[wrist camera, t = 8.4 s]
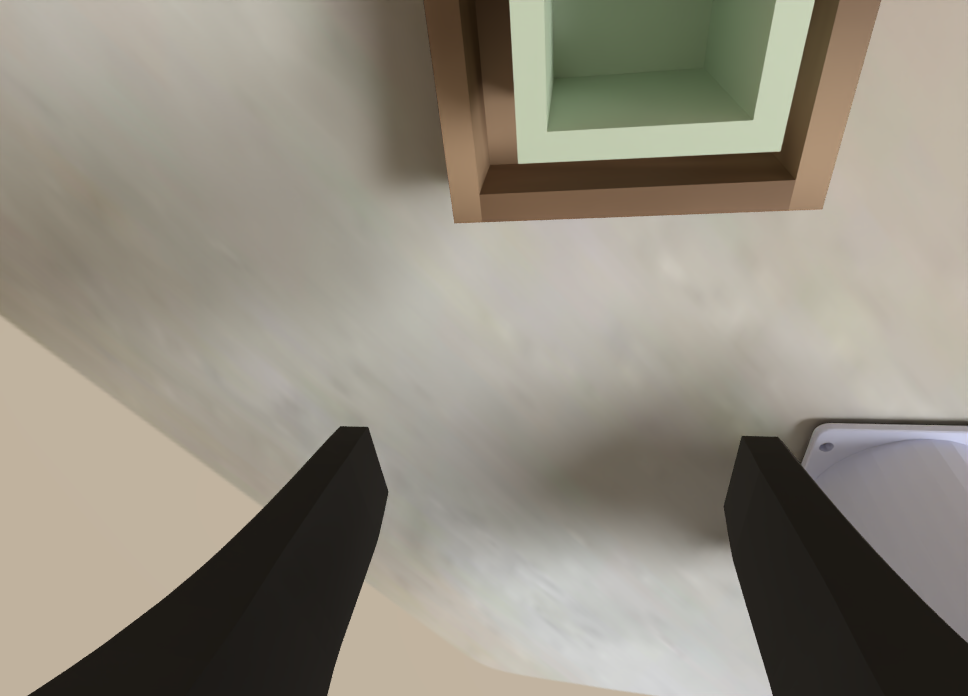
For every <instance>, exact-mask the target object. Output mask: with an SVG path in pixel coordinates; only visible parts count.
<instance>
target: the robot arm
mask: <svg viewBox="0 0 968 696" xmlns="http://www.w3.org/2000/svg"><path fill="white" fill-rule="evenodd" d="M824 443H826V444H824ZM387 496H388V489H387V486H386V483H385V479H384V476H383V473H382V470H381V467H380V463H379V460H378V457H377V454H376V451H375V447H374V444H373V441H372V438H371V434H370V431H369V428H368V427H347V426H340V427H339V428H338V429H337V430H336V431H335V432H334V433H333V434H332V435H331V436H330V438H329V439H328V440H327V441H326V442H325V443H324V444H323V445H322V446H321V447H320V448H319V449H318V450H317V452H316V453H315V454H314V455H313V456H312V457H311V458H310V459H309V460H308V461H307V462H306V464H305V465H304V466H303V467H302V468H301V469H300V470H299V471H298V472H297V473H296V474H295V475H294V477H293V478H292V479H291V480H290V481H289V482H288V483H287V484H286V485H285V486H284V487H283V488H282V489H281V490H280V491H279V492H278V493H277V494H276V495H275V497H274V498H273V499H272V500H271V501H270V502H269V503H268V504H267V505H266V506H265V507H264V508H263V509H262V510H261V511H260V512H259V513H258V514H257V515H256V516H255V517H254V518H253V519H252V520H251V521H250V522H249V523H248V524H247V525H246V526H245V527H244V528H243V529H242V530H241V531H240V532H239V533H237V535H235V537H233V538H232V539H231V540H230V541H229V542H228V543H227V544H226V545H225V546H224V547H223V548H222V549H221V550H220V551H219V552H218V553H216V555H214V556H213V557H212V558H211V559H210V560H209V561H208V562H206V564H204V565H203V566H202V567H201V568H200V569H199V570H197V571H196V572H195V573H194V574H193V575H192V576H191V577H189V578H188V579H187V580H186V581H184V582H183V583H182V584H181V585H180V586H179V587H177V588H176V589H175V590H174V591H173V592H171V593H170V594H169V595H168V596H166V597H165V598H164V599H163V600H161V601H160V602H159V603H158V604H156V605H155V606H154V607H152V608H151V609H150V610H148V611H147V612H146V613H144V614H143V615H142V616H140V617H139V618H138V619H136V620H135V621H134V622H133V623H131V624H130V625H128V626H127V627H126V628H125V629H123V630H122V631H121V632H119V633H118V634H117V635H115V636H114V637H113V638H111V639H110V640H109V641H107V642H106V643H105V644H103V645H102V646H101V647H99V648H98V649H96V650H95V651H94V652H92V653H91V654H89V655H88V656H86V657H85V658H83V659H82V660H80V661H79V662H78V663H76V664H75V665H73V666H72V667H70V668H69V669H67V670H66V671H64V672H63V673H61V674H60V675H58V676H57V677H55V678H54V679H52V680H51V681H49V682H48V683H46V684H45V685H43V686H42V687H40V688H39V689H37V690H36V691H34V692H32V693H31V694H29V695H28V696H327V694H328V690H329V686H330V682H331V678H332V674H333V670H334V667H335V664H336V660H337V657H338V654H339V651H340V647H341V644H342V641H343V638H344V636H345V633H346V630H347V627H348V624H349V621H350V619H351V616H352V613H353V610H354V607H355V604H356V602H357V599H358V596H359V593H360V590H361V587H362V585H363V582H364V579H365V576H366V573H367V570H368V567H369V564H370V562H371V559H372V556H373V553H374V550H375V547H376V544H377V541H378V537H379V533H380V529H381V524H382V520H383V516H384V511H385V506H386V501H387ZM724 511H725V517H726V523H727V529H728V536H729V541H730V547H731V552H732V557H733V562H734V565H735V569H736V572H737V576H738V579H739V582H740V586H741V589H742V593H743V596H744V599H745V603H746V606H747V610H748V613H749V616H750V620H751V623H752V626H753V630H754V633H755V636H756V640H757V643H758V646H759V650H760V653H761V656H762V660H763V663H764V666H765V670H766V673H767V676H768V680H769V683H770V686H771V690H772V694H773V696H968V426H947V425H897V424H848V423H826V424H822V425H820V426H818V427H817V428H815V430H814V431H813V434H812V436H811V439H810V442H809V445H808V447H807V450H806V453H805V456H804V458H803V461H802V464H800V463H799V461H798V460H797V459H796V458H795V457H794V455H793V454H792V453H791V452H790V450H789V449H788V448H787V447H786V445H785V444H784V443H783V442H782V441H781V440H780V439H779V438H778V437H761V436H742V437H741V441H740V445H739V449H738V453H737V457H736V461H735V465H734V469H733V472H732V476H731V480H730V484H729V488H728V492H727V496H726V500H725V504H724Z"/></svg>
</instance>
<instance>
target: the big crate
mask: <svg viewBox="0 0 968 696" xmlns="http://www.w3.org/2000/svg"><path fill="white" fill-rule="evenodd" d="M423 1H424V8H425V15H426V22H427V29H428V37H429V44H430V51H431V58H432V65H433V73H434V80H435V87H436V94H437V101H438V109H439V116H440V123H441V130H442V137H443V145H444V152H445V159H446V166H447V173H448V181H449V188H450V195H451V202H452V209H453V217H454V223H474V222H501V221H527V220H553V219H580V218H606V217H632V216H658V215H685V214H711V213H737V212H764V211H790V210H816V209H822V208H823V205H824V201H825V198H826V194H827V191H828V187H829V183H830V180H831V176H832V173H833V169H834V166H835V162H836V159H837V155H838V151H839V148H840V144H841V141H842V137H843V134H844V130H845V127H846V123H847V120H848V116H849V112H850V109H851V105H852V102H853V98H854V95H855V91H856V88H857V84H858V80H859V77H860V73H861V70H862V66H863V63H864V59H865V56H866V52H867V49H868V45H869V41H870V38H871V34H872V31H873V27H874V24H875V20H876V17H877V13H878V9H879V6H880V2H881V0H815V2H814V6H813V11H812V15H811V20H810V24H809V28H808V33H807V37H806V42H805V46H804V50H803V55H802V59H801V64H800V68H799V72H798V77H797V81H796V86H795V90H794V94H793V99H792V103H791V107H790V112H789V116H788V121H787V125H786V129H785V134H784V138H783V143H782V147H781V151H779V152H758V153H737V154H715V155H694V156H673V157H652V158H631V159H610V160H589V161H568V162H547V163H526V164H518V154H517V135H516V117H515V98H514V79H513V61H512V42H511V23H510V5H509V0H423Z"/></svg>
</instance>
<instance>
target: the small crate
mask: <svg viewBox="0 0 968 696" xmlns="http://www.w3.org/2000/svg"><path fill="white" fill-rule="evenodd" d="M814 2H815V0H509V5H510V23H511V42H512V61H513V79H514V98H515V117H516V135H517V154H518V164H526V163H547V162H568V161H589V160H610V159H631V158H652V157H673V156H694V155H715V154H737V153H758V152H779V151H781V147H782V143H783V138H784V134H785V129H786V125H787V121H788V116H789V112H790V107H791V103H792V99H793V94H794V90H795V86H796V81H797V77H798V72H799V68H800V64H801V59H802V55H803V50H804V46H805V42H806V37H807V33H808V28H809V24H810V20H811V15H812V11H813V6H814Z"/></svg>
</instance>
